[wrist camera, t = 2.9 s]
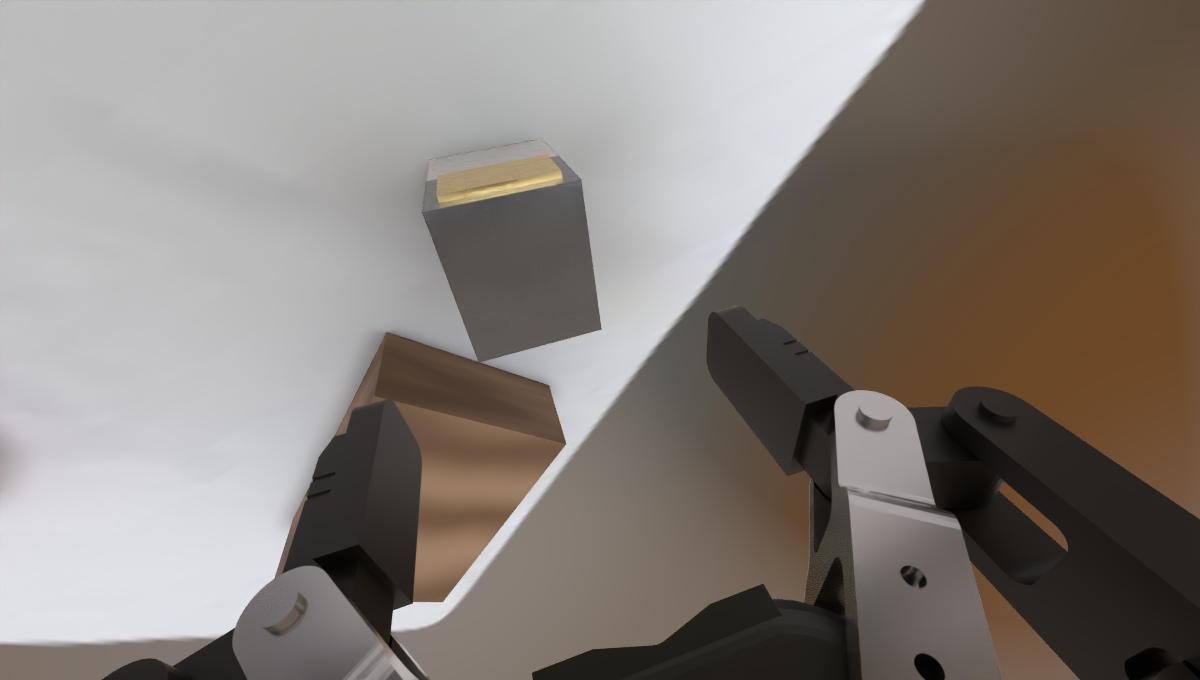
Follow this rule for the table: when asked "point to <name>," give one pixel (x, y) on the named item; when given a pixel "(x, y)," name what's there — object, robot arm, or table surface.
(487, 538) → the walnut stand
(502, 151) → the housing
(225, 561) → the table surface
